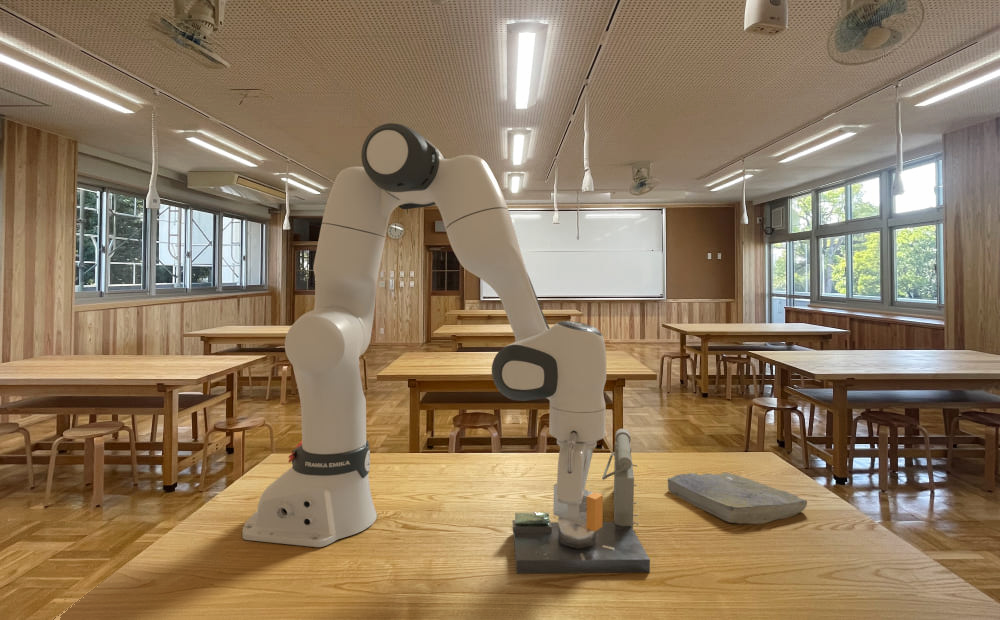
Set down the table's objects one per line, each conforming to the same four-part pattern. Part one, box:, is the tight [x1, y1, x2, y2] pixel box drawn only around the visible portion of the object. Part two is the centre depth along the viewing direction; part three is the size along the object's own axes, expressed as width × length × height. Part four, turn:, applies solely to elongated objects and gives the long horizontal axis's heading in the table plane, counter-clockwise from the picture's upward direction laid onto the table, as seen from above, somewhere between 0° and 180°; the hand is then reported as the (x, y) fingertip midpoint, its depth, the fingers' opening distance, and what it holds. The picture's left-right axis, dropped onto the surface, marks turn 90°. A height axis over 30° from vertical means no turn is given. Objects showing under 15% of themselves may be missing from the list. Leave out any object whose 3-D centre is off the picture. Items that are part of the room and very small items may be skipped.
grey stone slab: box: [667, 472, 808, 525], centre depth 102 cm, size 20×5×17 cm
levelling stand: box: [512, 511, 651, 574], centre depth 83 cm, size 20×12×5 cm, turn 91°
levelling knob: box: [553, 483, 604, 548], centre depth 83 cm, size 8×6×8 cm
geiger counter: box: [601, 428, 639, 530], centre depth 100 cm, size 14×6×25 cm
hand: (575, 508), depth 83 cm, fingers closed on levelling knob, 3 cm apart
